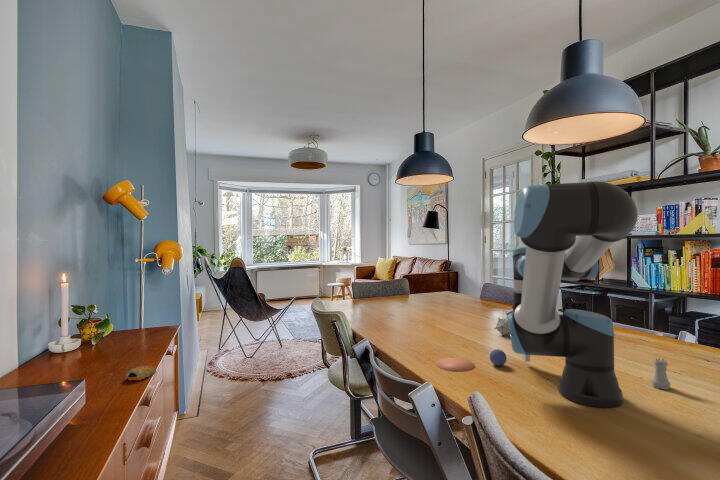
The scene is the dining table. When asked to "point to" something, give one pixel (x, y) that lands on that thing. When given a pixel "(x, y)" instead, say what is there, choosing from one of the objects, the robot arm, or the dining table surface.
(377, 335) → the dining table surface
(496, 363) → the ball
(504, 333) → the game die
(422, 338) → the dining table surface
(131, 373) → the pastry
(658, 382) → the rook chess piece
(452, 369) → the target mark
